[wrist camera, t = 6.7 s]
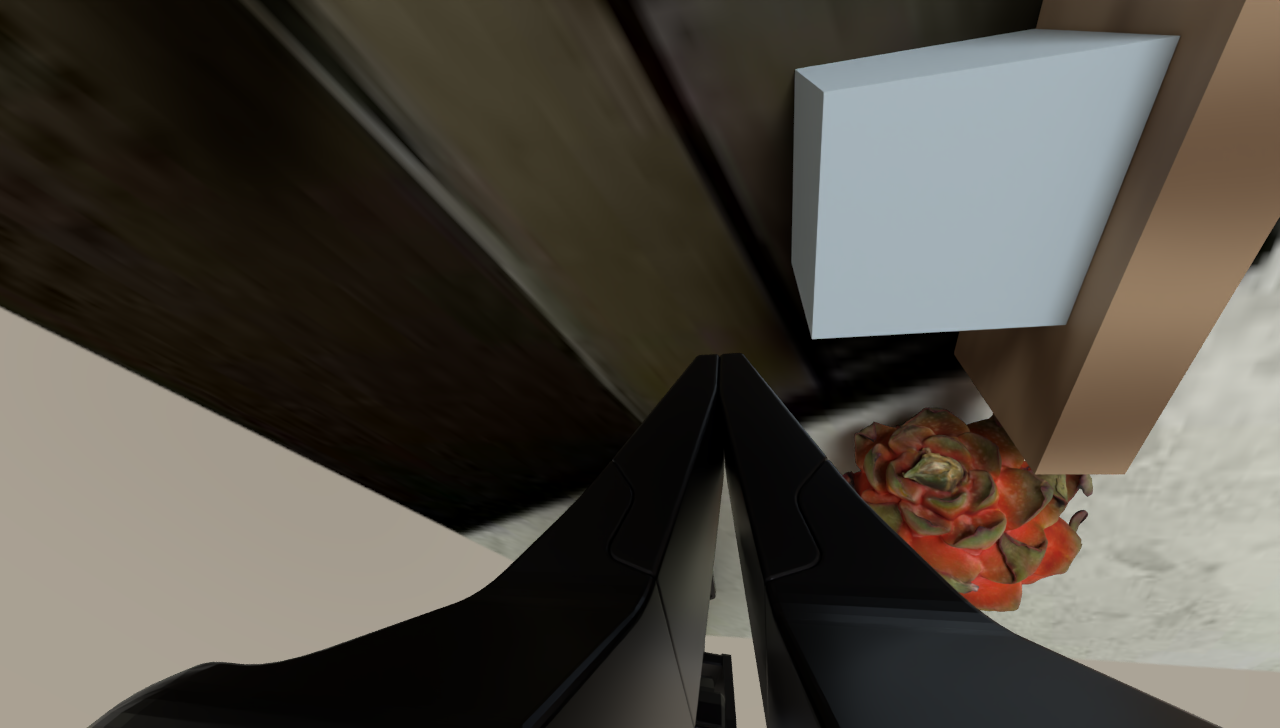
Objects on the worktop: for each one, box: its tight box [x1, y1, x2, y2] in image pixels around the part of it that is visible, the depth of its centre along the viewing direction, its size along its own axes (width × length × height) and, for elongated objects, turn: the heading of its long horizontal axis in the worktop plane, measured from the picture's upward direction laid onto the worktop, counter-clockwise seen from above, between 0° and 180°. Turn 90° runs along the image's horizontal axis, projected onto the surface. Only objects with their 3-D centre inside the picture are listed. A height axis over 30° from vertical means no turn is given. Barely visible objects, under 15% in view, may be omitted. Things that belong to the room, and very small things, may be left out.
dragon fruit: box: [842, 408, 1093, 612], centre depth 22 cm, size 8×8×12 cm
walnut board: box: [954, 0, 1280, 474], centre depth 13 cm, size 20×2×7 cm, turn 9°
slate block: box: [791, 29, 1180, 339], centre depth 15 cm, size 7×7×6 cm
